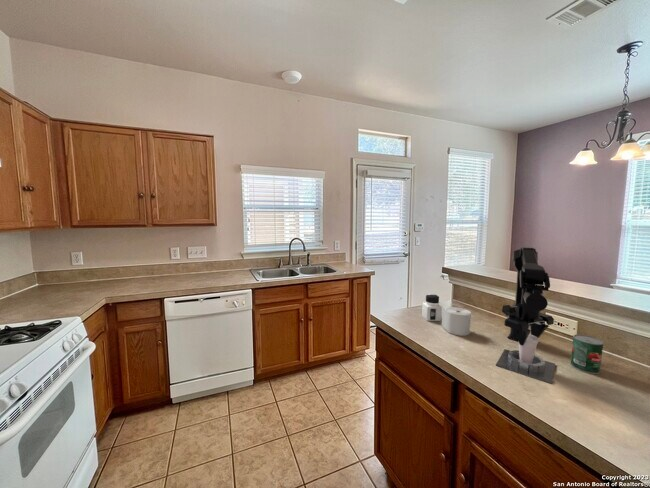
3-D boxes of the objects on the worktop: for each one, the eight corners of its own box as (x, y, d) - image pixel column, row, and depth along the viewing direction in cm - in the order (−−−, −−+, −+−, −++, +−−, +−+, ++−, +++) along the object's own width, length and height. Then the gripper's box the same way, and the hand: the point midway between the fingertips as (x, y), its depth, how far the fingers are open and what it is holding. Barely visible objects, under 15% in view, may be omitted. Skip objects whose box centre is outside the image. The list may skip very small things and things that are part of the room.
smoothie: (520, 365, 98) (523, 328, 96) (512, 356, 104) (514, 321, 103) (540, 367, 97) (544, 329, 95) (530, 358, 103) (534, 322, 101)
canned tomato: (571, 359, 104) (573, 332, 103) (600, 368, 99) (603, 339, 98) (569, 367, 99) (572, 339, 98) (600, 376, 93) (603, 346, 92)
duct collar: (504, 350, 112) (505, 343, 111) (555, 364, 101) (556, 357, 100) (495, 365, 100) (496, 357, 100) (551, 384, 89) (552, 375, 89)
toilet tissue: (471, 337, 123) (473, 316, 122) (443, 333, 127) (444, 313, 126) (467, 328, 133) (468, 308, 132) (441, 325, 137) (442, 306, 136)
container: (441, 321, 142) (442, 297, 141) (426, 321, 142) (427, 297, 141) (435, 315, 150) (436, 293, 149) (421, 315, 150) (422, 292, 149)
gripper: (524, 293, 109) (521, 330, 110) (491, 298, 102) (489, 338, 104) (556, 302, 98) (552, 342, 100) (522, 308, 92) (519, 352, 93)
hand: (527, 343), depth 100 cm, fingers closed on smoothie, 6 cm apart
